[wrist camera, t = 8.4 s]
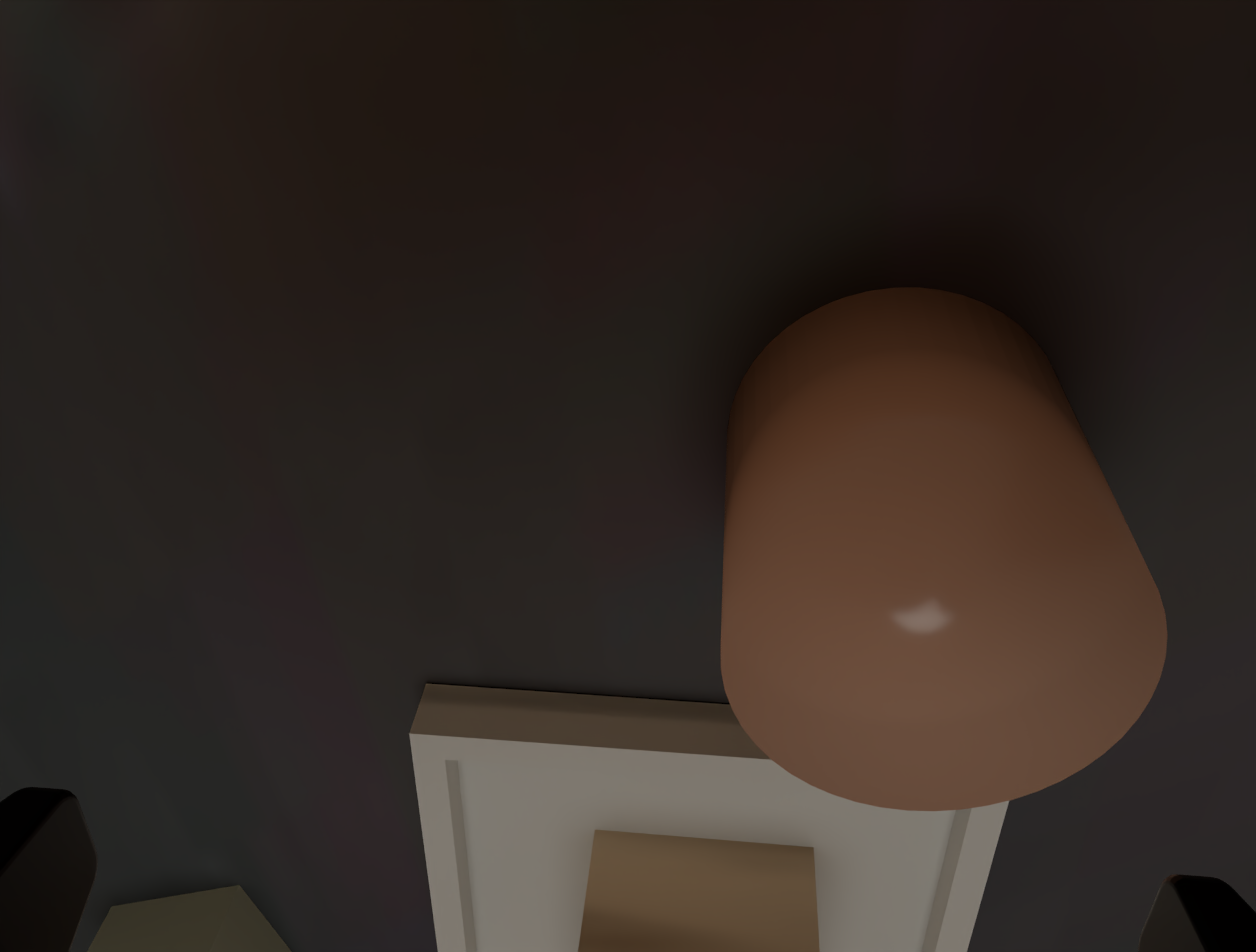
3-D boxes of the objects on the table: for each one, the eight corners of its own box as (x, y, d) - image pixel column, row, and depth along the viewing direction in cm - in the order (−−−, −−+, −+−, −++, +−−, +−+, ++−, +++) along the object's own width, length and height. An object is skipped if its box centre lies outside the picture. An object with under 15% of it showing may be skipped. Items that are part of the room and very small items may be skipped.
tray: (1002, 723, 24) (1015, 777, 23) (915, 1052, 31) (922, 1108, 30) (426, 683, 25) (409, 733, 24) (464, 1012, 32) (452, 1065, 31)
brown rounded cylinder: (1100, 294, 19) (1224, 496, 14) (1027, 579, 22) (1107, 825, 17) (737, 279, 20) (733, 469, 14) (718, 560, 23) (710, 796, 18)
